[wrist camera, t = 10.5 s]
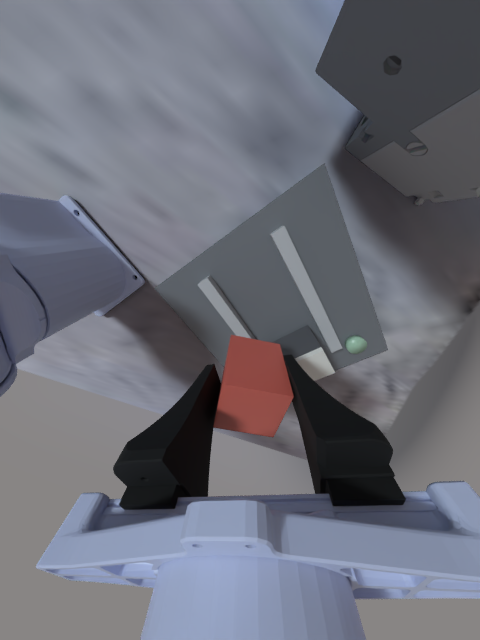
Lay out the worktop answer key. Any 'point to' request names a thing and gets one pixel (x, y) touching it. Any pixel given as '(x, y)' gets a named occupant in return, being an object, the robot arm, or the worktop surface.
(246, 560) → the robot arm
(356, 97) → the circuit breaker
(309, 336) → the breaker handle
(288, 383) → the red rectangular block
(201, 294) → the breaker panel
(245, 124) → the worktop surface
